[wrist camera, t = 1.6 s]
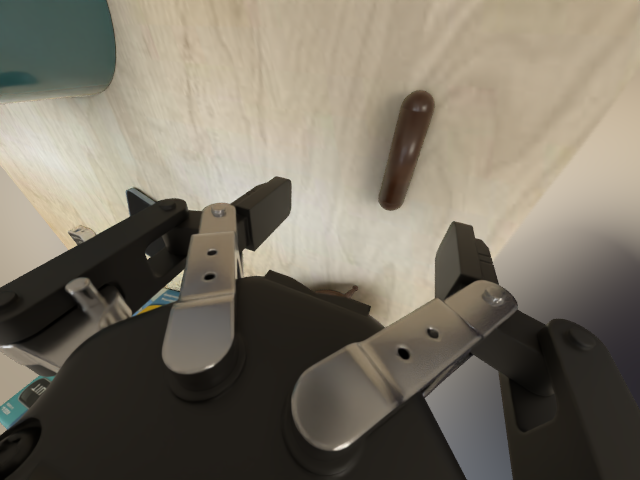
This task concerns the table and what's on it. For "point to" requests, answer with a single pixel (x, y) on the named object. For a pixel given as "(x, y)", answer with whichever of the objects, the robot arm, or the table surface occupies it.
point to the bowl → (54, 49)
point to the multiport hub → (81, 234)
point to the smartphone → (135, 205)
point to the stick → (405, 148)
